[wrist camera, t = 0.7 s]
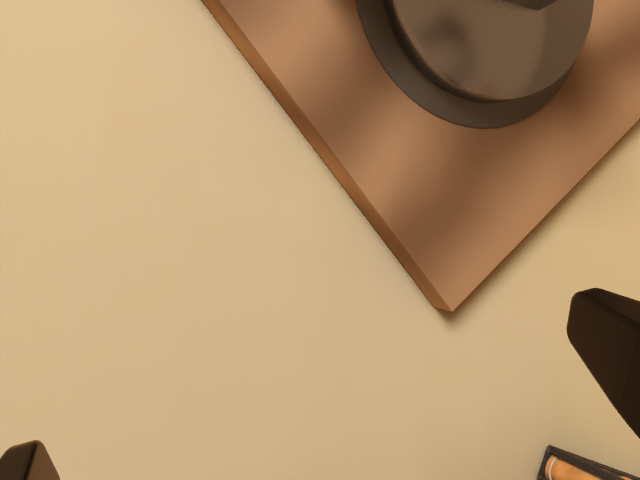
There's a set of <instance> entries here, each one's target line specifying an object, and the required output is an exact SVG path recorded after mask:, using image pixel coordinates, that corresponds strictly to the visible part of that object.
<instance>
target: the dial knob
mask: <svg viewBox="0 0 640 480" xmlns="http://www.w3.org/2000/svg"><path fill="white" fill-rule="evenodd" d="M383 3H384V7H385V11H386V14H387V17H388V20H389V23H390V25H391V27H392V30H393V32H394V34H395V36H396V38H397V40H398V42H399V44H400V45H401V47H402V49H403V50H404V52H405V53H406V55H407V56H408V57H409V59H410V60H411V61H412V63H413V64H414V65H415V66H416V67H417V68H418V69H419V70H420V71H421V72H422V74H423V75H424V76H425V77H427V78H428V79H429V80H430V81H432V82H433V83H434V84H435V85H437V86H438V87H440V88H441V89H443V90H445V91H446V92H448V93H450V94H452V95H454V96H457V97H459V98H461V99H465V100H468V101H472V102H477V103H485V104H491V103H503V102H508V101H512V100H515V99H518V98H521V97H524V96H528V95H531V94H533V93H536V92H538V91H541V90H543V89H545V88H546V87H548V86H550V85H552V84H553V83H554V82H555V81H557V80H558V79H559V78H560V77H562V76H563V74H564V73H565V72H566V71H567V70H568V69H569V68H570V67H571V65H572V64H573V62H574V61H575V60H576V58H577V57H578V55H579V53H580V51H581V49H582V47H583V45H584V43H585V40H586V37H587V35H588V32H589V28H590V24H591V20H592V14H593V6H594V0H383Z"/></svg>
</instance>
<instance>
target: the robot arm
mask: <svg viewBox="0 0 640 480" xmlns="http://www.w3.org/2000/svg"><path fill="white" fill-rule="evenodd" d="M567 335H568V338H569V340H570V342H571V344H572V345H573V347H574V348H575V350H576V351H577V353H578V354H579V356H580V357H581V359H582V360H583V362H584V363H585V365H586V366H587V368H588V369H589V371H590V372H591V374H592V375H593V377H594V378H595V380H596V381H597V382H598V384H599V385H600V387H601V388H602V390H603V391H604V393H605V394H606V396H607V397H608V399H609V400H610V402H611V403H612V404H613V406H614V407H615V409H616V410H617V411H618V413H619V414H620V415H621V417H622V418H623V419H624V420H625V422H626V423H627V424H628V425H629V427H630V428H631V429H632V430H633V431H634V433H635V434H636V435H637V436H638V437H639V439H640V301H637V300H634V299H631V298H628V297H624V296H621V295H618V294H615V293H612V292H609V291H606V290H603V289H599V288H591V289H588V290H584V291H580V292H577V293H576V294H574V296H573V297H572V300H571V305H570V311H569V317H568V323H567ZM0 480H60V478H59V475H58V473H57V471H56V469H55V467H54V465H53V462H52V460H51V458H50V456H49V454H48V452H47V450H46V448H45V446H44V445H43V443H42V442H40V441H38V440H34V441H30V442H26V443H23V444H19V445H15V446H12V447H10V448H9V449H8V450H7V451H6V452H5V453H4V454H3V456H2V457H1V458H0Z"/></svg>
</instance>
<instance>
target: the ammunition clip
mask: <svg viewBox="0 0 640 480" xmlns="http://www.w3.org/2000/svg"><path fill="white" fill-rule="evenodd" d="M537 480H640V478H639V477H636V476H633V475H630V474H628V473H625V472H622V471H619V470H617V469H614V468H611V467H608V466H606V465H603V464H600V463H597V462H595V461H592V460H589V459H586V458H584V457H581V456H578V455H575V454H573V453H570V452H567V451H564V450H562V449H559V448H556V447H553V446H551V445H549V446H548V447H547V450H546V453H545V456H544V459H543V462H542V465H541V468H540V471H539V474H538V477H537Z"/></svg>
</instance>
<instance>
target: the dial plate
mask: <svg viewBox="0 0 640 480" xmlns="http://www.w3.org/2000/svg"><path fill="white" fill-rule="evenodd" d="M202 1H203V3H204V4H205V5H206V7H207V8H208V9H209V11H210V12H211V13H212V15H213V16H214V17H215V19H216V20H217V21H218V23H219V24H220V25H221V27H222V28H223V29H224V30H225V32H226V33H227V34H228V36H229V37H230V38H231V40H232V41H233V42H234V44H235V45H236V46H237V48H238V49H239V50H240V52H241V53H242V54H243V56H244V57H245V58H246V60H247V61H248V62H249V64H250V65H251V66H252V67H253V69H254V70H255V71H256V73H257V74H258V75H259V77H260V78H261V79H262V81H263V82H264V83H265V85H266V86H267V87H268V89H269V90H270V91H271V93H272V94H273V95H274V97H275V98H276V99H277V101H278V102H279V103H280V104H281V106H282V107H283V108H284V110H285V111H286V112H287V114H288V115H289V116H290V118H291V119H292V120H293V122H294V123H295V124H296V126H297V127H298V128H299V130H300V131H301V132H302V134H303V135H304V136H305V137H306V139H307V140H308V141H309V143H310V144H311V145H312V147H313V148H314V149H315V151H316V152H317V153H318V155H319V156H320V157H321V159H322V160H323V161H324V163H325V164H326V165H327V167H328V168H329V169H330V171H331V172H332V173H333V174H334V176H335V177H336V178H337V180H338V181H339V182H340V184H341V185H342V186H343V188H344V189H345V190H346V192H347V193H348V194H349V196H350V197H351V198H352V200H353V201H354V202H355V204H356V205H357V206H358V208H359V209H360V210H361V211H362V213H363V214H364V215H365V217H366V218H367V219H368V221H369V222H370V223H371V225H372V226H373V227H374V229H375V230H376V231H377V233H378V234H379V235H380V237H381V238H382V239H383V241H384V242H385V243H386V244H387V246H388V247H389V248H390V250H391V251H392V252H393V254H394V255H395V256H396V258H397V259H398V260H399V262H400V263H401V264H402V266H403V267H404V268H405V270H406V271H407V272H408V274H409V275H410V276H411V278H412V279H413V280H414V281H415V283H416V284H417V285H418V287H419V288H420V289H421V291H422V292H423V293H424V295H425V296H426V297H427V299H428V300H429V301H430V303H431V304H432V305H433V307H435V308H439V309H443V310H447V311H452V312H453V310H454V309H455V308H456V307H457V306H458V305H459V304H460V303H461V302H462V301H463V300H464V299H465V298H466V297H467V296H468V295H469V294H470V293H471V292H472V291H473V290H474V289H475V288H476V287H477V286H478V285H479V284H480V283H481V282H482V281H483V280H484V279H485V277H486V276H487V275H488V274H489V273H490V272H491V271H492V270H493V269H494V268H495V267H496V266H497V265H498V264H499V263H500V262H501V261H502V260H503V259H504V258H505V257H506V256H507V255H508V254H509V253H510V252H511V251H512V250H513V249H514V248H515V247H516V246H517V244H518V243H519V242H520V241H521V240H522V239H523V238H524V237H525V236H526V235H527V234H528V233H529V232H530V231H531V230H532V229H533V228H534V227H535V226H536V225H537V224H538V223H539V222H540V221H541V220H542V219H543V218H544V217H545V216H546V215H547V214H548V213H549V211H550V210H551V209H552V208H553V207H554V206H555V205H556V204H557V203H558V202H559V201H560V200H561V199H562V198H563V197H564V196H565V195H566V194H567V193H568V192H569V191H570V190H571V189H572V188H573V187H574V186H575V185H576V184H577V183H578V182H579V181H580V180H581V178H582V177H583V176H584V175H585V174H586V173H587V172H588V171H589V170H590V169H591V168H592V167H593V166H594V165H595V164H596V163H597V162H598V161H599V160H600V159H601V158H602V157H603V156H604V155H605V154H606V153H607V152H608V151H609V150H610V149H611V148H612V147H613V145H614V144H615V143H616V142H617V141H618V140H619V139H620V138H621V137H622V136H623V135H624V134H625V133H626V132H627V131H628V130H629V129H630V128H631V127H632V126H633V125H634V124H635V123H636V122H637V121H638V120H639V119H640V0H594V6H593V14H592V20H591V24H590V28H589V32H588V35H587V37H586V40H585V43H584V45H583V47H582V49H581V51H580V53H579V55H578V57H577V58H576V60H575V61H574V62H573V64H572V65H571V67H570V68H569V69H568V70H567V71H566V72H565V73H564V74H563V76H562V77H560V78H559V79H558V80H557V81H555V82H554V83H553V84H552V85H550V86H548V87H546V88H545V89H543V90H541V91H538V92H536V93H533V94H531V95H528V96H524V97H521V98H518V99H515V100H512V101H508V102H503V103H491V104H485V103H477V102H472V101H468V100H465V99H461V98H459V97H457V96H454V95H452V94H450V93H448V92H446V91H445V90H443V89H441V88H440V87H438V86H437V85H435V84H434V83H433V82H432V81H430V80H429V79H428V78H427V77H425V76H424V75H423V74H422V72H421V71H420V70H419V69H418V68H417V67H416V66H415V65H414V64H413V63H412V61H411V60H410V59H409V57H408V56H407V55H406V53H405V52H404V50H403V49H402V47H401V45H400V44H399V42H398V40H397V38H396V36H395V34H394V32H393V30H392V27H391V25H390V23H389V20H388V17H387V14H386V11H385V7H384V3H383V0H202Z"/></svg>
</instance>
